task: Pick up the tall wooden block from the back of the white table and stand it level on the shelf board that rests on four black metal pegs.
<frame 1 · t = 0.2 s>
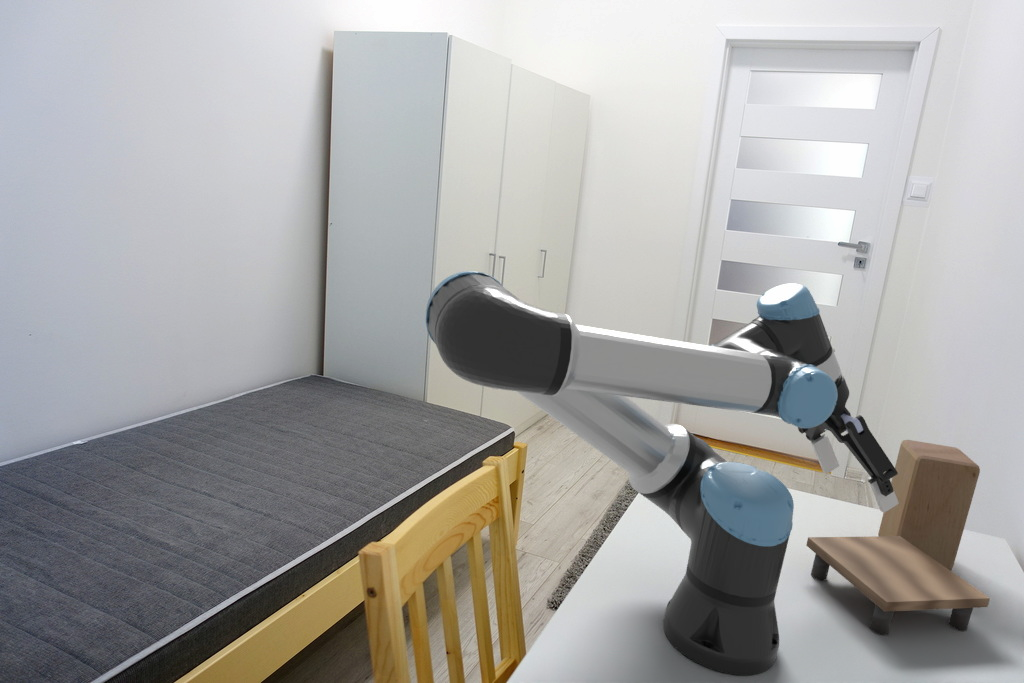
hand: (859, 487, 113), 16 cm above the table, tool tilted 35°, fingers open, 13 cm apart
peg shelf: (885, 600, 112), on the table
wooden block: (912, 555, 128), on the table
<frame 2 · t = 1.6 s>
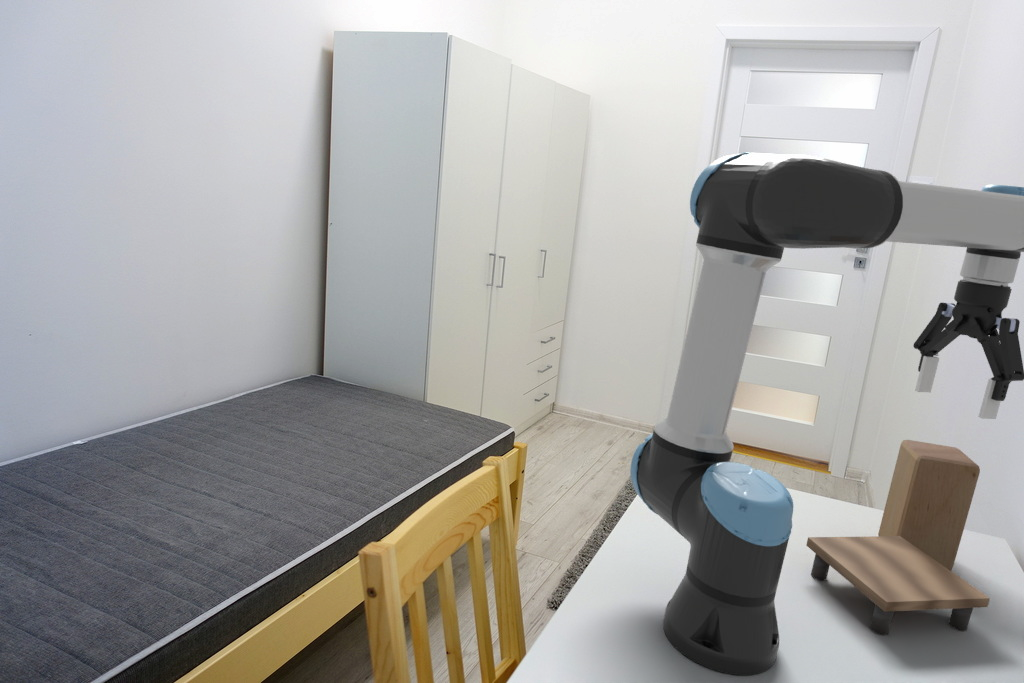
hand: (953, 404, 122), 29 cm above the table, tool pointing down, fingers open, 13 cm apart
nothing on the table moved.
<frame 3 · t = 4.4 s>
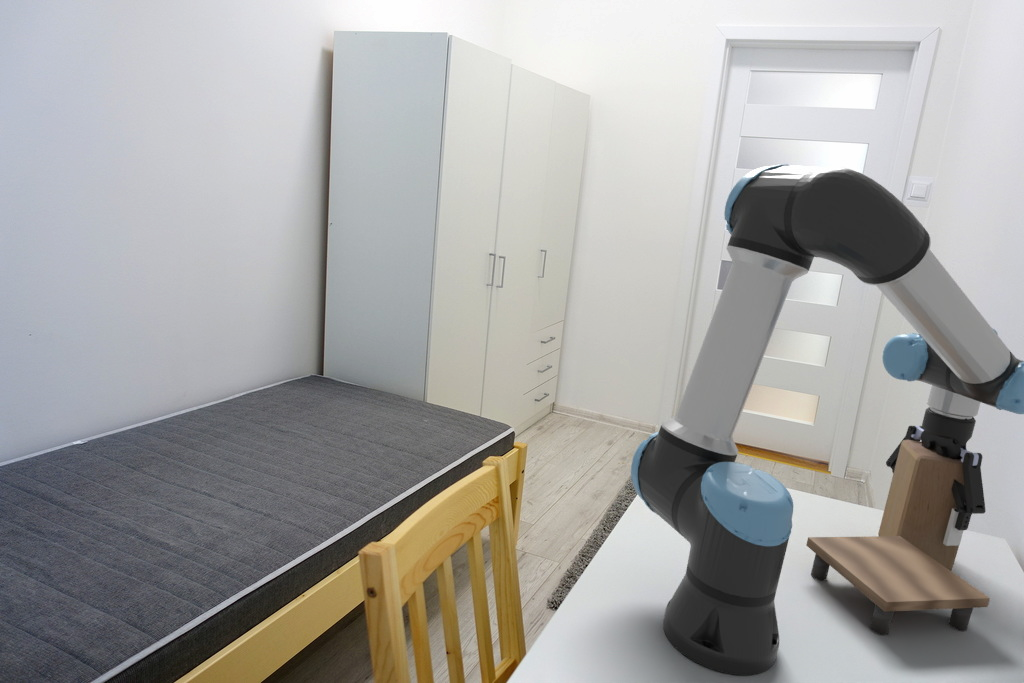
hand: (921, 525, 127), 6 cm above the table, tool pointing down, fingers open, 12 cm apart
wooden block: (912, 555, 128), on the table, touching hand
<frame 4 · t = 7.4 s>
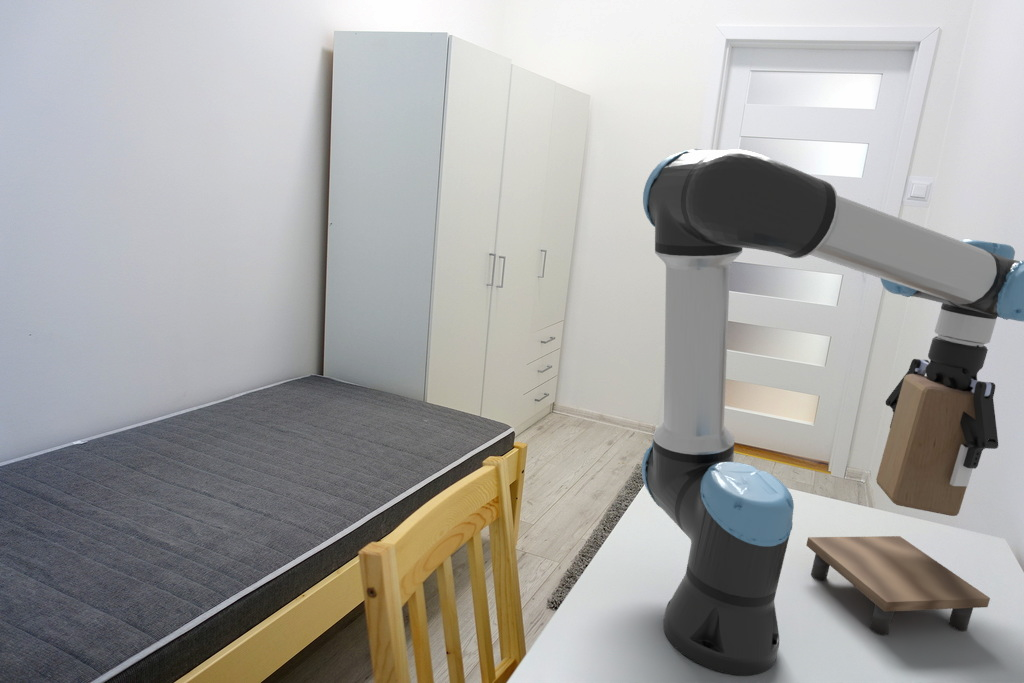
hand: (924, 467, 115), 20 cm above the table, tool pointing down, fingers open, 12 cm apart
wooden block: (914, 501, 117), point 14 cm above the table, touching hand
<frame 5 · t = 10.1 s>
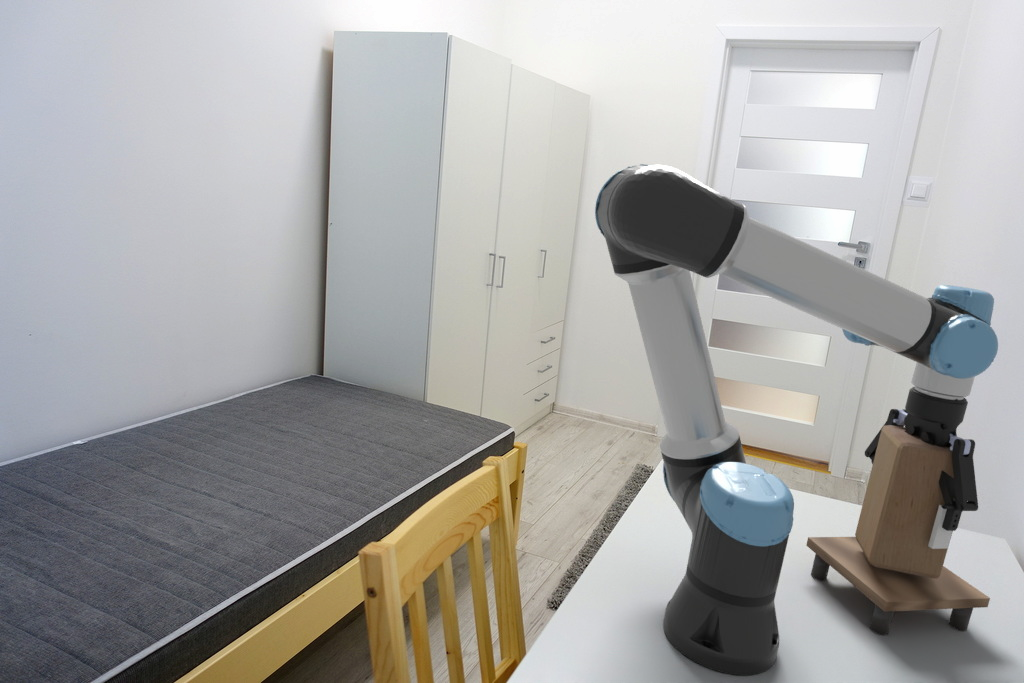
hand: (904, 525, 109), 13 cm above the table, tool pointing down
wooden block: (894, 560, 110), point 7 cm above the table, touching gripper, hand
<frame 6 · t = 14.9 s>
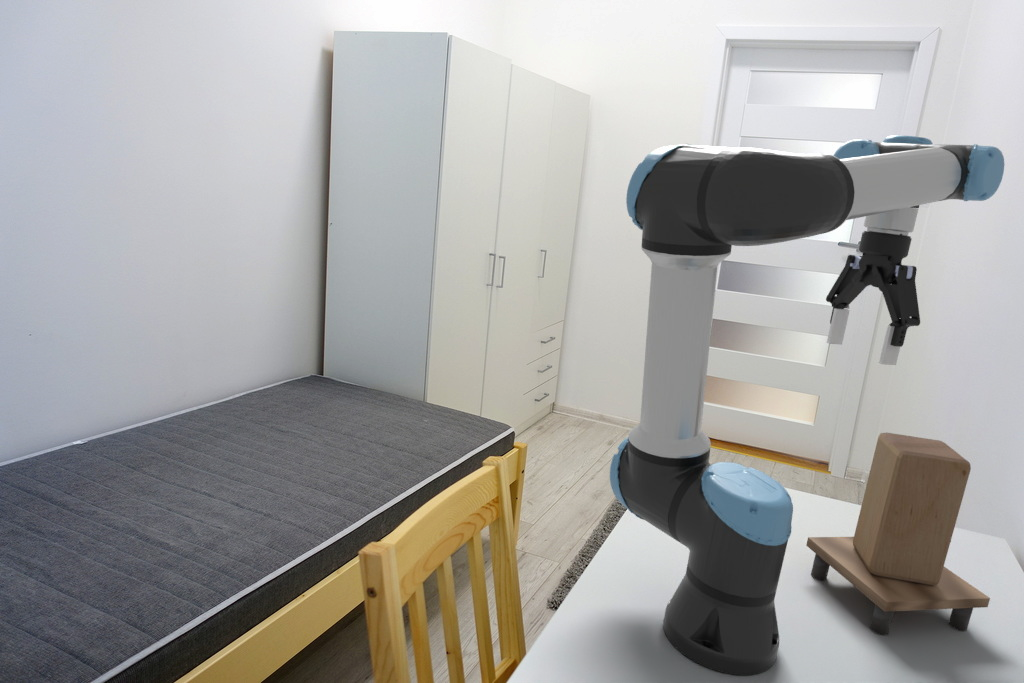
hand: (859, 353, 124), 35 cm above the table, tool pointing down, fingers open, 13 cm apart
wooden block: (892, 567, 110), point 6 cm above the table, touching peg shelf
at the end: wooden block inside the target area on the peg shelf (0.2 cm from its centre), point 5.8 cm above the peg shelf's base; wooden block tilted 0°; the gripper is holding nothing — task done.
